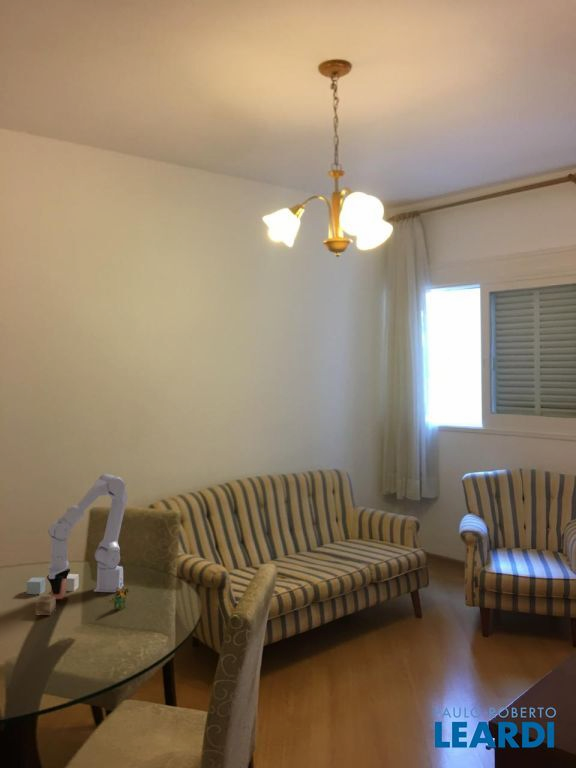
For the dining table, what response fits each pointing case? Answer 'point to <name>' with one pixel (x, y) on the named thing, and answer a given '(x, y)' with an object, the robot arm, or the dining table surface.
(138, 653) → the dining table surface
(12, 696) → the dining table surface
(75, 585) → the pale grey block
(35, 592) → the blue-grey block
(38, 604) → the walnut block
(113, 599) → the figurine
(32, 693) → the dining table surface
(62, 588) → the brick-red block
